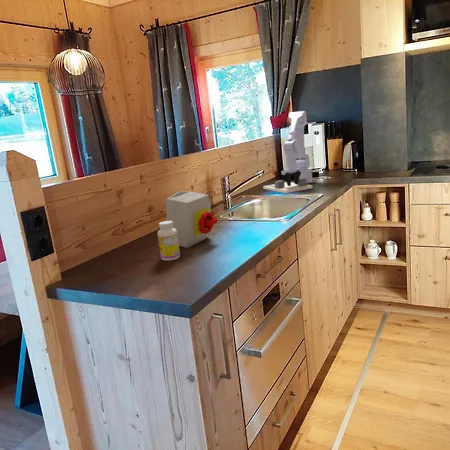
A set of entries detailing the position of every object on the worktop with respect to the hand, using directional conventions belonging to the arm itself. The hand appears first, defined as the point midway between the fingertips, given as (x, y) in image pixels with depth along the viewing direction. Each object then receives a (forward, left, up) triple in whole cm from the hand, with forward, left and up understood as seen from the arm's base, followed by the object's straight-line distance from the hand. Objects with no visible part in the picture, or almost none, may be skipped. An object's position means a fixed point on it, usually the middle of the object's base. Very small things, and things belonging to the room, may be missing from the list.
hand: (292, 185), depth 253 cm
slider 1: (+6, -5, -1) cm, 8 cm away
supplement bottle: (+100, +73, -3) cm, 124 cm away
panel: (0, -7, -3) cm, 7 cm away
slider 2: (-6, 0, -1) cm, 6 cm away
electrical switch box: (+86, +61, -3) cm, 106 cm away
